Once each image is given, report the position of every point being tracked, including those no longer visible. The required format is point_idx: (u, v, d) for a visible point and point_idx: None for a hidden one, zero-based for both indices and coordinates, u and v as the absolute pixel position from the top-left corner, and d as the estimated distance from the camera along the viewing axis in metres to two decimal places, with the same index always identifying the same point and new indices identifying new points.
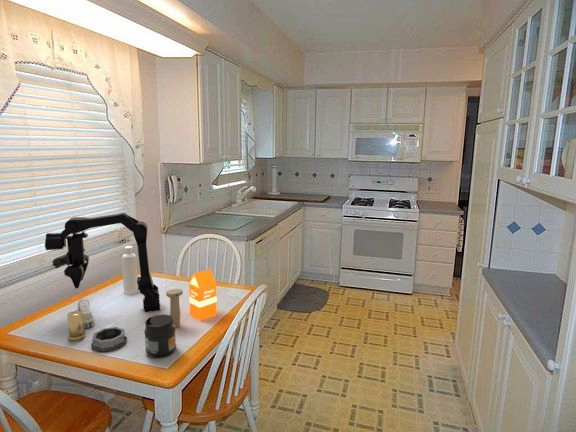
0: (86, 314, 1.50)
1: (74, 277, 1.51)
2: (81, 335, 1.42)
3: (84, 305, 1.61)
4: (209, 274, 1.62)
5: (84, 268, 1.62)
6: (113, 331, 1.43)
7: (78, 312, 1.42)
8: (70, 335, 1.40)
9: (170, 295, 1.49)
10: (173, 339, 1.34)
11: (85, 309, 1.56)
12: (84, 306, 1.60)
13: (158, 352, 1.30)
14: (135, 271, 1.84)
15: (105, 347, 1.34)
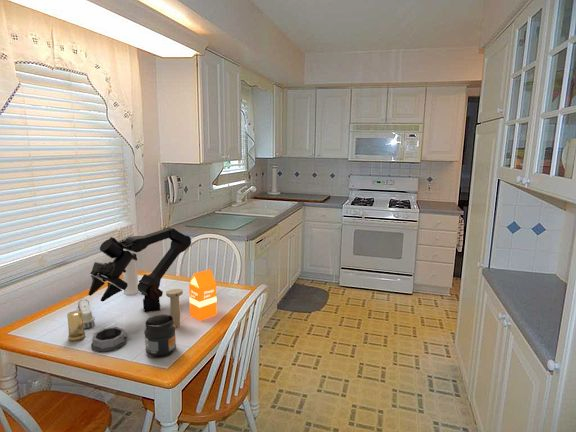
0: (86, 314, 1.50)
1: (110, 289, 1.46)
2: (81, 335, 1.42)
3: (84, 305, 1.61)
4: (209, 274, 1.62)
5: (100, 285, 1.53)
6: (113, 331, 1.43)
7: (78, 312, 1.42)
8: (70, 335, 1.40)
9: (170, 295, 1.49)
10: (173, 339, 1.34)
11: (85, 309, 1.56)
12: (84, 306, 1.60)
13: (158, 352, 1.30)
14: (135, 271, 1.84)
15: (105, 347, 1.34)
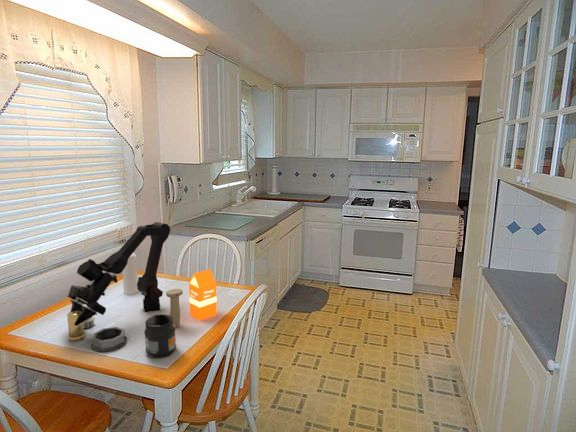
0: None
1: (85, 313, 1.41)
2: (81, 335, 1.42)
3: (84, 305, 1.61)
4: (209, 274, 1.62)
5: (80, 310, 1.46)
6: (113, 331, 1.43)
7: (78, 312, 1.42)
8: (70, 335, 1.40)
9: (170, 295, 1.49)
10: (173, 339, 1.34)
11: None
12: (84, 306, 1.60)
13: (158, 352, 1.30)
14: (135, 271, 1.84)
15: (105, 347, 1.34)
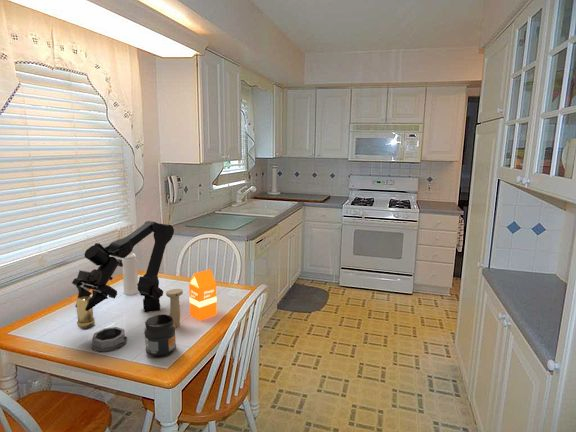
0: None
1: (95, 297, 1.38)
2: (91, 320, 1.39)
3: None
4: (209, 274, 1.62)
5: None
6: (113, 331, 1.43)
7: (87, 297, 1.39)
8: (80, 321, 1.37)
9: (170, 295, 1.49)
10: (173, 339, 1.34)
11: None
12: None
13: (158, 352, 1.30)
14: (135, 271, 1.84)
15: (105, 347, 1.34)
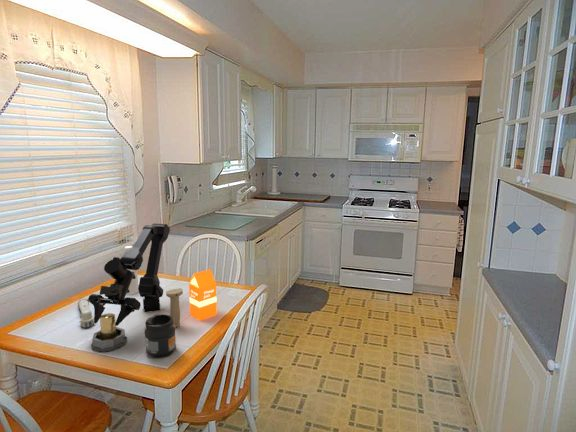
0: (86, 313, 1.51)
1: (123, 311, 1.38)
2: None
3: (84, 305, 1.61)
4: (209, 274, 1.62)
5: (102, 311, 1.42)
6: None
7: (110, 314, 1.39)
8: (105, 339, 1.37)
9: (170, 295, 1.49)
10: (173, 339, 1.34)
11: (85, 308, 1.57)
12: (84, 305, 1.60)
13: (158, 352, 1.30)
14: (135, 271, 1.84)
15: (105, 347, 1.34)
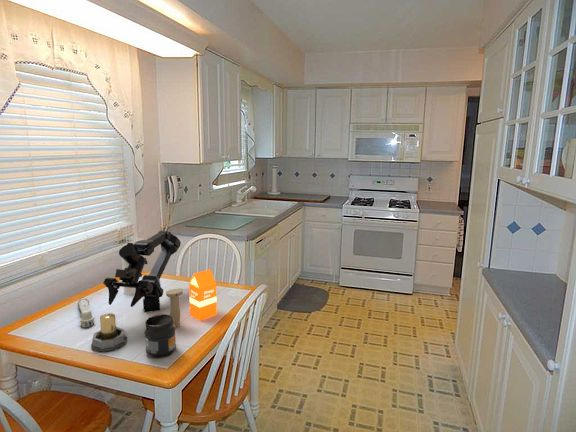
0: (86, 313, 1.51)
1: (138, 294, 1.47)
2: None
3: (84, 304, 1.62)
4: (209, 274, 1.62)
5: (116, 293, 1.50)
6: None
7: (110, 314, 1.39)
8: (105, 339, 1.37)
9: (170, 295, 1.49)
10: (173, 339, 1.34)
11: (85, 308, 1.57)
12: (84, 305, 1.61)
13: (158, 352, 1.30)
14: None
15: (105, 347, 1.34)
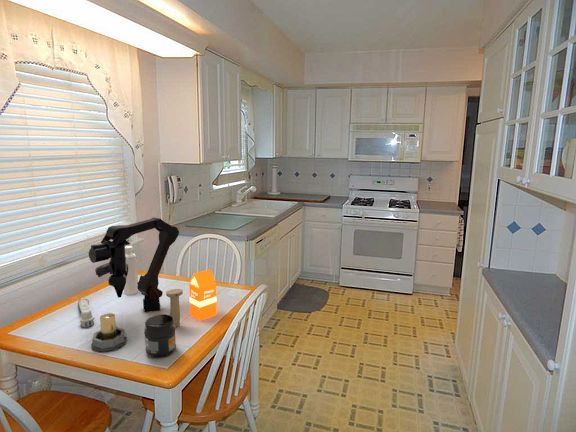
0: (86, 313, 1.51)
1: (117, 286, 1.50)
2: None
3: (84, 304, 1.62)
4: (209, 274, 1.62)
5: None
6: None
7: (110, 314, 1.39)
8: (105, 339, 1.37)
9: (170, 295, 1.49)
10: (173, 339, 1.34)
11: (85, 308, 1.57)
12: (84, 305, 1.61)
13: (158, 352, 1.30)
14: (135, 271, 1.84)
15: (105, 347, 1.34)
